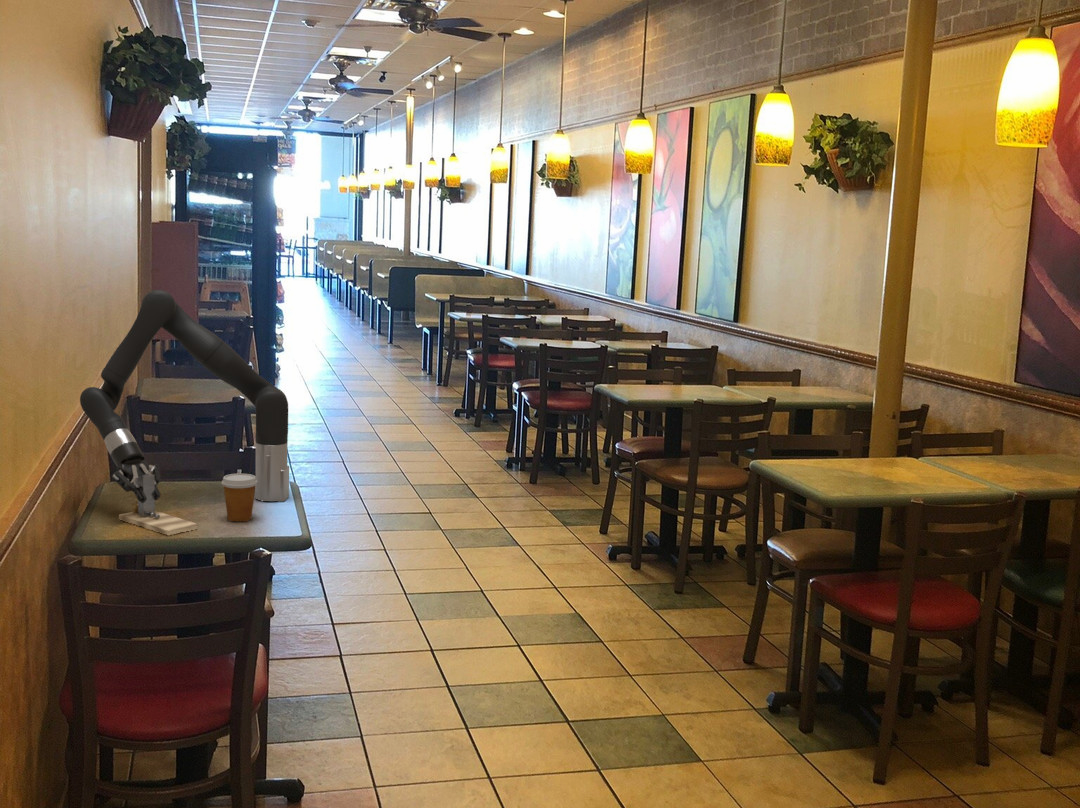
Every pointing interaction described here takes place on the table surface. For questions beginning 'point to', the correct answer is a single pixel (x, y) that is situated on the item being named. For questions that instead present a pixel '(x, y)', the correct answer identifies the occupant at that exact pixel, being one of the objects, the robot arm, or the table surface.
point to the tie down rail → (158, 522)
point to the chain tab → (147, 495)
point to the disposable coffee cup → (239, 496)
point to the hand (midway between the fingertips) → (151, 499)
